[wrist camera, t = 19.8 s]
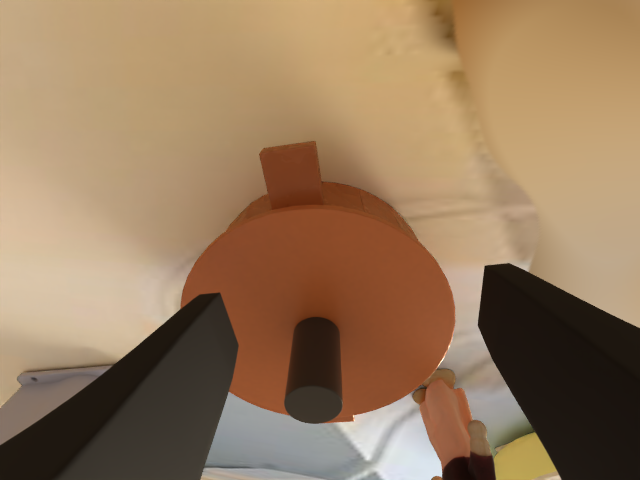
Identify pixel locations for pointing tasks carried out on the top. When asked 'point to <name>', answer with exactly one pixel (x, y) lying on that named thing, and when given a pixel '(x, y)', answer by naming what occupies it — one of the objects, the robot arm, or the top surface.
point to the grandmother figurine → (454, 430)
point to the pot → (310, 191)
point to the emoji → (524, 460)
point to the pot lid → (327, 310)
